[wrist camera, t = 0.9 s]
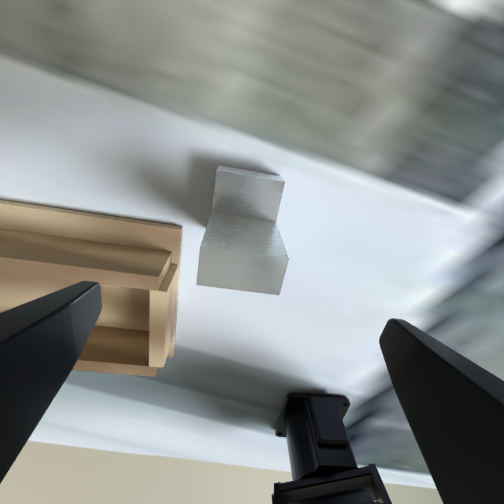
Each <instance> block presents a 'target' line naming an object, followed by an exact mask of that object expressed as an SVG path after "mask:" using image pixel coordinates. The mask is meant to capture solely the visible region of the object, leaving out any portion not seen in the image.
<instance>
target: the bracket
mask: <svg viewBox="0 0 504 504" xmlns="http://www.w3.org/2000/svg"><path fill="white" fill-rule="evenodd" d="M284 184H285V181H284V180H283V179H282V177H281V176H279V175H273V174H267V173H262V172H256V171H250V170H244V169H239V168H233V167H227V166H221V165H219V166H218V168H217V170H216V177H215V186H214V195H213V204H212V212H211V215H210V219H209V222H208V225H207V228H206V231H205V234H204V237H203V240H202V243H201V246H200V255H199V265H198V275H197V285H201V286H209V287H217V288H225V289H233V290H242V291H250V292H258V293H266V294H274V295H279V294H280V291H281V287H282V283H283V279H284V275H285V272H286V268H287V264H288V260H289V258H288V255H287V253H286V250H285V247H284V244H283V241H282V238H281V235H280V233H279V230H278V227H277V224H276V219H277V215H278V210H279V206H280V201H281V197H282V192H283V188H284Z"/></svg>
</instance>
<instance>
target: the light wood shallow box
mask: <svg viewBox="0 0 504 504" xmlns="http://www.w3.org/2000/svg"><path fill="white" fill-rule="evenodd" d="M181 241H182V226H175V225H168V224H162V223H155V222H148V221H141V220H134V219H128V218H121V217H114V216H107V215H100V214H93V213H87V212H80V211H73V210H66V209H59V208H53V207H46V206H39V205H32V204H25V203H19V202H12V201H5V200H0V313H1V312H3V311H6V310H9V309H11V308H14V307H16V306H19V305H21V304H24V303H27V302H29V301H32V300H34V299H37V298H40V297H42V296H45V295H47V294H50V293H52V292H55V291H58V290H60V289H63V288H65V287H68V286H70V285H73V284H76V283H78V282H81V281H84V280H86V281H94V282H98V283H100V285H101V295H102V311H101V313H100V316H99V318H98V320H97V322H96V324H95V326H94V328H93V330H92V332H91V334H90V336H89V338H88V340H87V342H86V344H85V347H84V349H83V351H82V353H81V355H80V357H79V358H78V360H77V362H76V364H75V365H74V367H73V369H72V370H82V371H93V372H105V373H117V374H128V375H140V376H152V377H156V375H157V372H158V369H159V367H161V368H163V367H164V364H165V361H166V358H167V357H170V358H173V355H174V347H175V332H176V317H177V302H178V287H179V272H180V257H181Z"/></svg>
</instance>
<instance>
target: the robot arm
mask: <svg viewBox="0 0 504 504" xmlns="http://www.w3.org/2000/svg"><path fill="white" fill-rule="evenodd" d="M101 311H102V295H101V285H100V283H98V282H94V281H86V280H84V281H81V282H78V283H76V284H73V285H70V286H68V287H65V288H63V289H60V290H58V291H55V292H52V293H50V294H47V295H45V296H42V297H40V298H37V299H34V300H32V301H29V302H27V303H24V304H21V305H19V306H16V307H14V308H11V309H9V310H6V311H3V312H1V313H0V483H1V482H2V480H3V479H4V477H5V475H6V474H7V472H8V471H9V469H10V467H11V466H12V464H13V463H14V461H15V460H16V458H17V456H18V455H19V453H20V451H21V450H22V448H23V447H24V445H25V444H26V442H27V440H28V439H29V437H30V436H31V434H32V432H33V431H34V429H35V428H36V426H37V425H38V423H39V421H40V420H41V418H42V417H43V415H44V413H45V412H46V410H47V409H48V407H49V405H50V404H51V402H52V401H53V399H54V397H55V396H56V394H57V393H58V391H59V390H60V388H61V386H62V385H63V383H64V382H65V380H66V378H67V377H68V375H69V374H70V372H71V370H72V369H73V367H74V365H75V364H76V362H77V360H78V358H79V357H80V355H81V353H82V351H83V349H84V347H85V344H86V342H87V340H88V338H89V336H90V334H91V332H92V330H93V328H94V326H95V324H96V322H97V320H98V318H99V316H100V313H101ZM379 343H380V347H381V350H382V353H383V356H384V360H385V363H386V366H387V369H388V372H389V375H390V378H391V381H392V384H393V387H394V390H395V392H396V395H397V397H398V399H399V402H400V404H401V406H402V409H403V411H404V413H405V416H406V418H407V420H408V423H409V425H410V427H411V430H412V432H413V434H414V436H415V439H416V441H417V443H418V446H419V448H420V450H421V453H422V455H423V457H424V460H425V462H426V464H427V467H428V469H429V471H430V473H431V476H432V478H433V480H434V483H435V485H436V487H437V490H438V492H439V494H440V497H441V499H442V501H443V504H504V381H503V380H501V379H500V378H498V377H496V376H495V375H493V374H491V373H490V372H488V371H487V370H485V369H483V368H482V367H480V366H478V365H477V364H475V363H474V362H472V361H470V360H469V359H467V358H465V357H464V356H462V355H460V354H459V353H457V352H456V351H454V350H452V349H451V348H449V347H447V346H446V345H444V344H443V343H441V342H439V341H438V340H436V339H434V338H433V337H431V336H429V335H428V334H426V333H425V332H423V331H421V330H420V329H418V328H416V327H415V326H413V325H412V324H410V323H408V322H407V321H405V320H402V319H394V318H392V319H389V320H388V322H387V324H386V326H385V328H384V330H383V332H382V334H381V336H380V339H379ZM349 406H350V402H349V399H348V398H344V397H332V396H320V395H308V394H296V393H290V394H288V395H287V397H286V400H285V403H284V406H283V409H282V412H281V414H280V417H279V420H278V423H277V426H276V429H275V434H276V436H278V437H287V444H288V451H289V458H290V464H291V471H292V478H293V481H290V482H285V483H280V482H278V483H274V494H272V504H392V503H391V500H390V498H389V496H388V493H387V491H386V489H385V487H384V484H383V482H382V480H381V477H380V475H379V473H378V470H377V468H376V466H375V464H369V465H368V466H366V467H361V468H358V467H357V464H356V461H355V458H354V455H353V452H352V449H351V446H350V442H349V438H348V435H347V432H346V430H345V427H344V424H343V421H342V420H343V418H344V416H345V414H346V412H347V410H348V408H349ZM374 501H376V502H374Z"/></svg>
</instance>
